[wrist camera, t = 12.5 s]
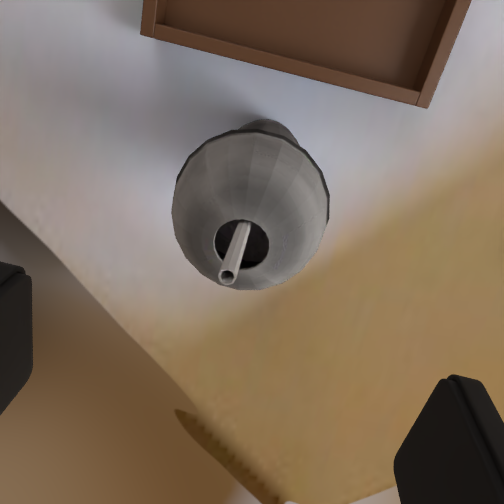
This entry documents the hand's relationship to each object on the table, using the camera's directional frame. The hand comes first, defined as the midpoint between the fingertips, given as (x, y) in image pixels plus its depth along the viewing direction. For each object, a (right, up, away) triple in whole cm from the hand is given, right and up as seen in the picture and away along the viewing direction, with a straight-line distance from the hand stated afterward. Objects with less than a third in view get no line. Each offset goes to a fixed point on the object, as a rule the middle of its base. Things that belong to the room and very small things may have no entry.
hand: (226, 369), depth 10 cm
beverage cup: (+2, +10, +20) cm, 23 cm away
